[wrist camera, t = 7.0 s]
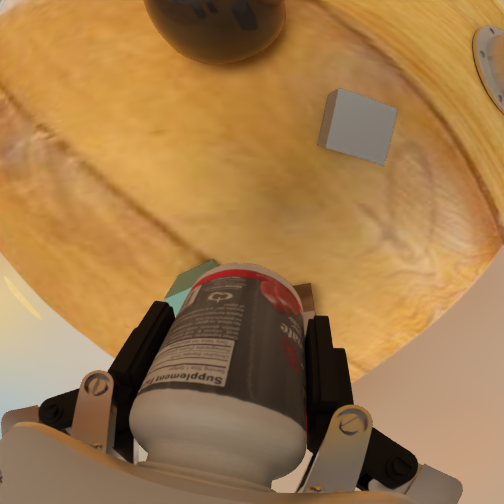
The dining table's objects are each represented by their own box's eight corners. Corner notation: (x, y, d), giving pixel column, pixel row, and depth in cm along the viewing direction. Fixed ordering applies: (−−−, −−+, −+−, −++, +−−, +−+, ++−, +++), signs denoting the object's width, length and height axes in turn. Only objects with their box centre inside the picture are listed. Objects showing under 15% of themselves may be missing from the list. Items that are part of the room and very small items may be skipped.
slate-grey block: (377, 111, 21) (397, 109, 17) (365, 158, 23) (384, 166, 19) (327, 95, 21) (338, 87, 17) (317, 144, 23) (325, 148, 19)
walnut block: (310, 282, 30) (314, 310, 25) (315, 316, 32) (319, 345, 27) (266, 290, 31) (263, 318, 26) (275, 322, 33) (274, 351, 28)
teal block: (213, 258, 30) (201, 283, 25) (236, 293, 31) (228, 320, 27) (178, 275, 31) (163, 299, 27) (202, 306, 33) (190, 333, 28)
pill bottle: (318, 331, 13) (325, 535, 4) (225, 357, 14) (182, 525, 6) (273, 238, 11) (233, 531, 2) (169, 281, 12) (60, 471, 4)
